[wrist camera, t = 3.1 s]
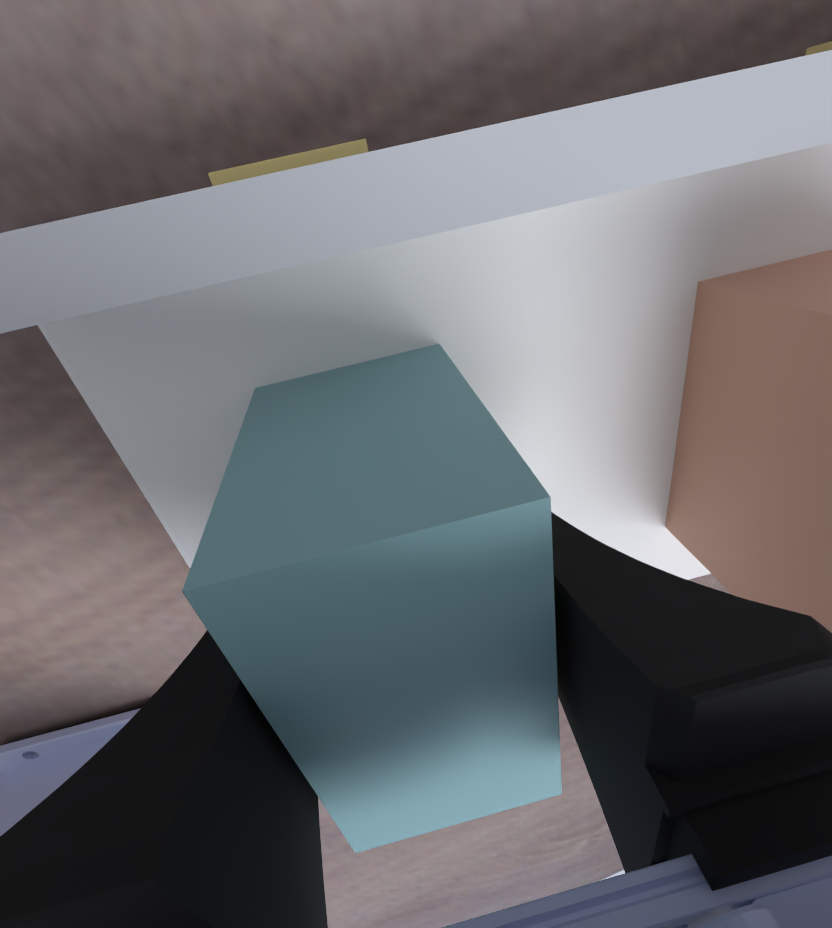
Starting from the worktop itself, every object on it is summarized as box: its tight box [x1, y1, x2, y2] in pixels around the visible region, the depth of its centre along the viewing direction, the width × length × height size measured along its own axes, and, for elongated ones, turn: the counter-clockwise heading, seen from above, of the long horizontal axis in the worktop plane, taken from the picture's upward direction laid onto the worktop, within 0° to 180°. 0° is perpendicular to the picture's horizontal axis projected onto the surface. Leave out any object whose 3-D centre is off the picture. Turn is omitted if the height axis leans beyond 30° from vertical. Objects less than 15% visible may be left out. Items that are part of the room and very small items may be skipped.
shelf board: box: [0, 41, 832, 580], centre depth 12 cm, size 23×15×4 cm, turn 101°
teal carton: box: [182, 344, 562, 853], centre depth 10 cm, size 5×8×6 cm, turn 11°
